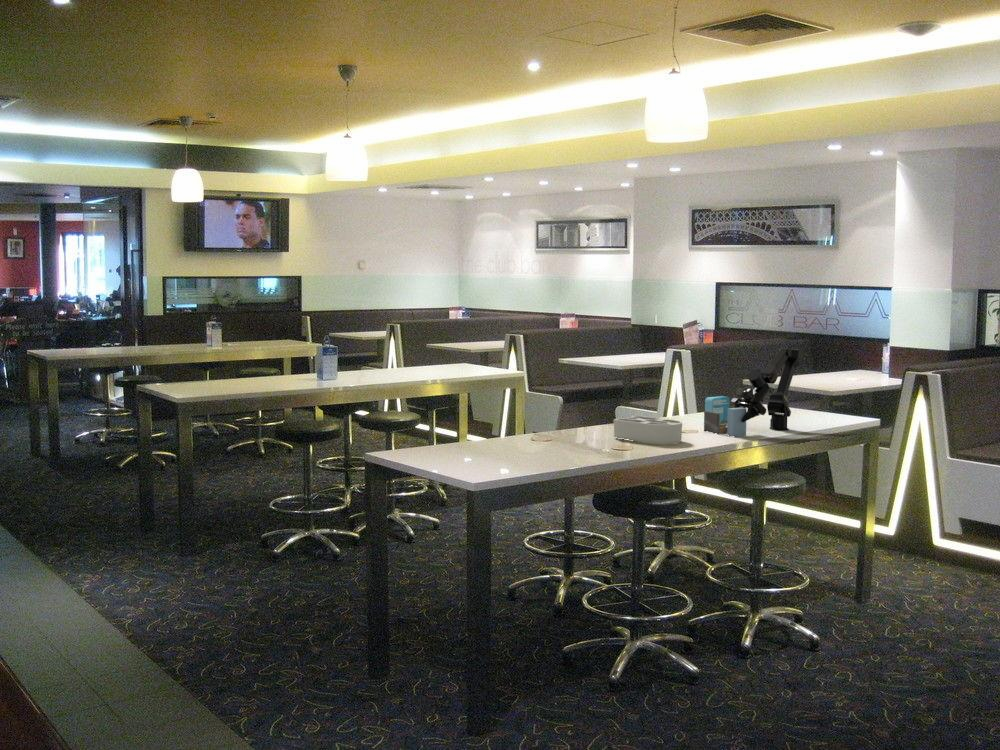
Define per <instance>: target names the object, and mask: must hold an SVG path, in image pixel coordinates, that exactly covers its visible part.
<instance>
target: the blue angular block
mask: <svg viewBox="0 0 1000 750" xmlns="http://www.w3.org/2000/svg"><path fill="white" fill-rule="evenodd" d="M746 412H747V408H735V407H729V408H728V414H727V424H726V425H727V426H726V427H727V433H726V435H729V436H728V437H730V436H739V437H746V436H747V421H745V422H741V420H742V418H743V416H744V415H745V413H746Z"/></svg>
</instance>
